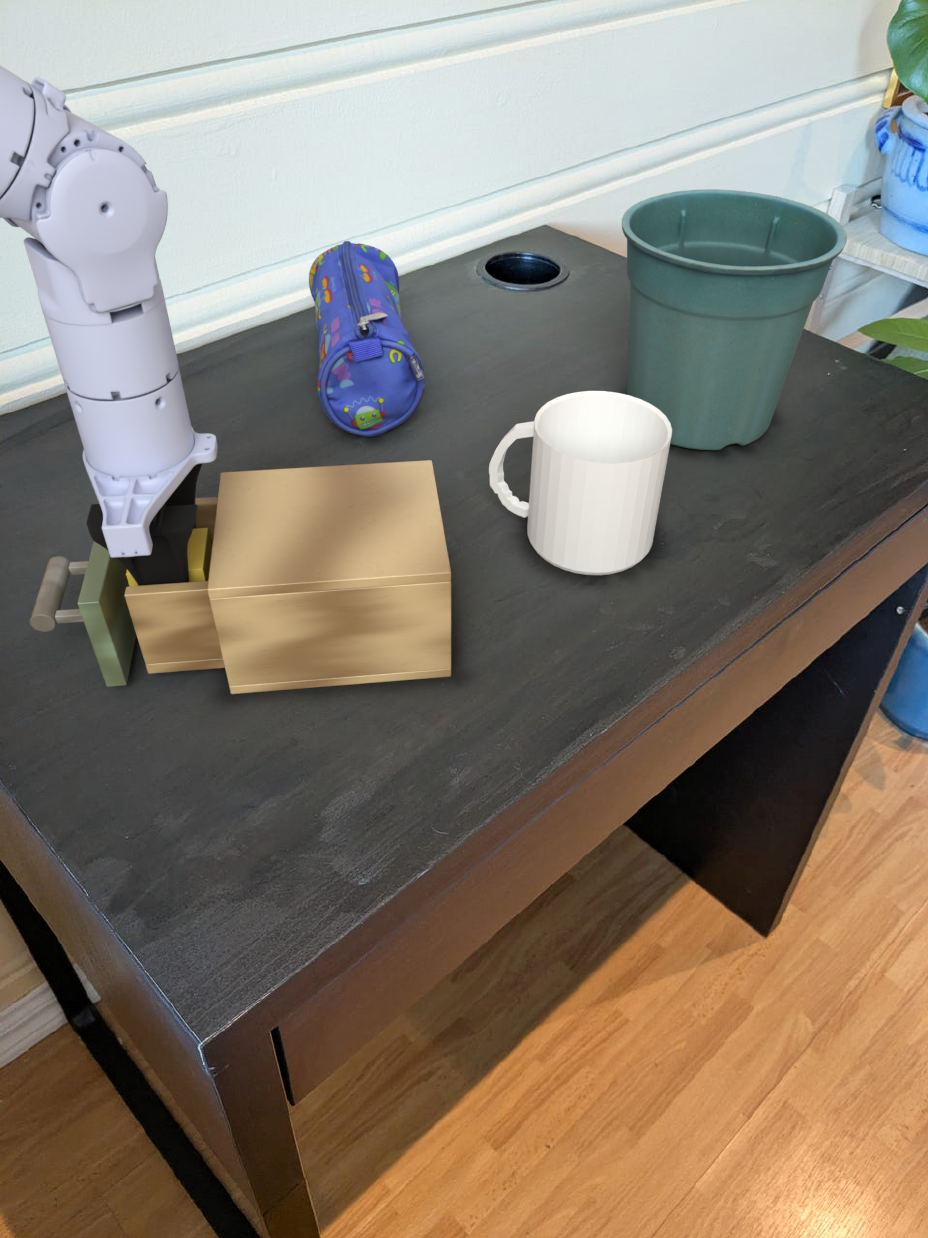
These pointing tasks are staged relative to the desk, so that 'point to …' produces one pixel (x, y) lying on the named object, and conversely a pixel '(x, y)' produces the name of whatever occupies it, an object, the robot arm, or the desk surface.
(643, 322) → the flower pot
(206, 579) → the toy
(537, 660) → the desk surface
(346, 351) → the pencil case
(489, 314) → the desk surface
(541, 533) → the mug
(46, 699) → the desk surface
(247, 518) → the cabinet
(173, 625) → the drawer
